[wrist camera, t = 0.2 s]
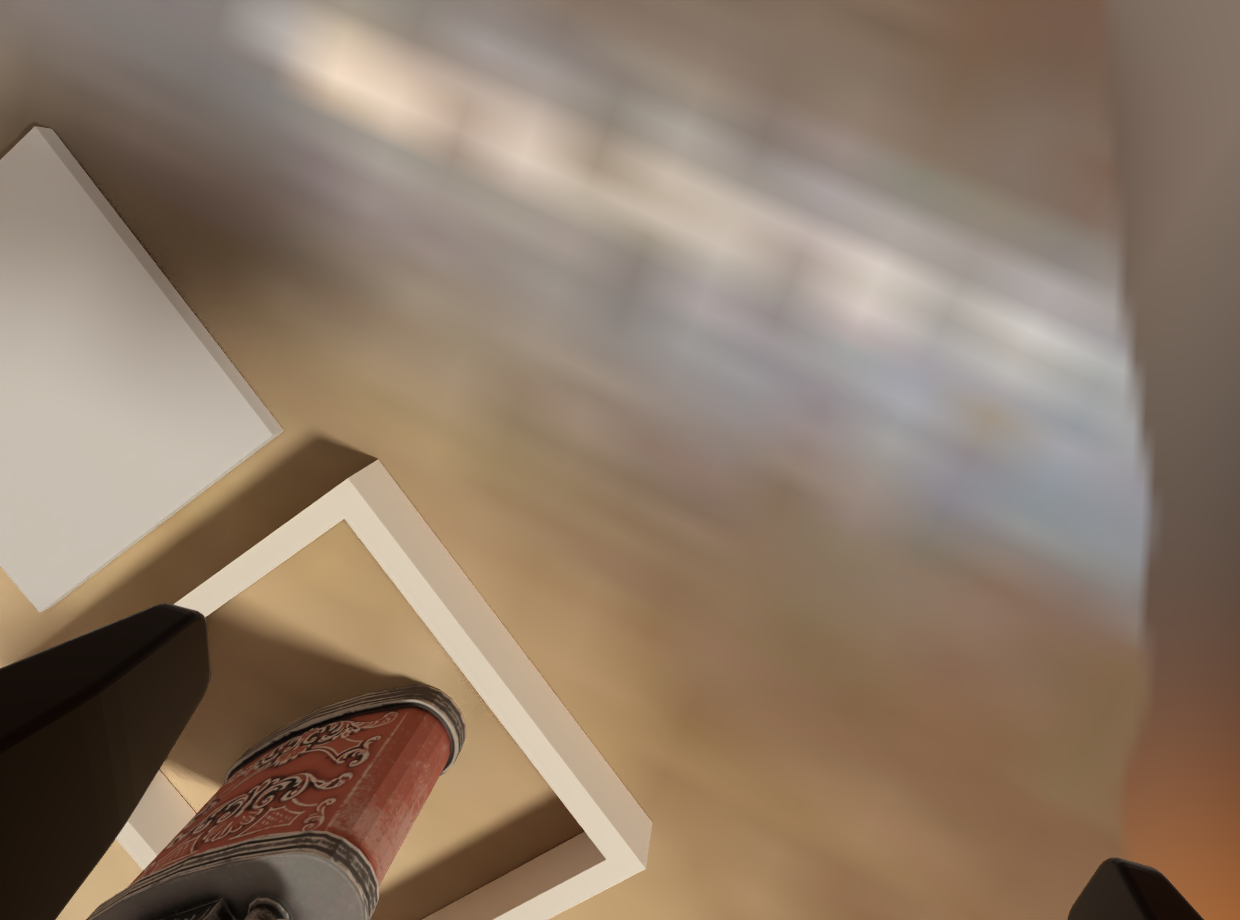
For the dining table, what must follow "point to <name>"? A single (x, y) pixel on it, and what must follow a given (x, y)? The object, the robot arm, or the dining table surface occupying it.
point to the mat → (98, 382)
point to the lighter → (305, 816)
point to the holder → (496, 667)
